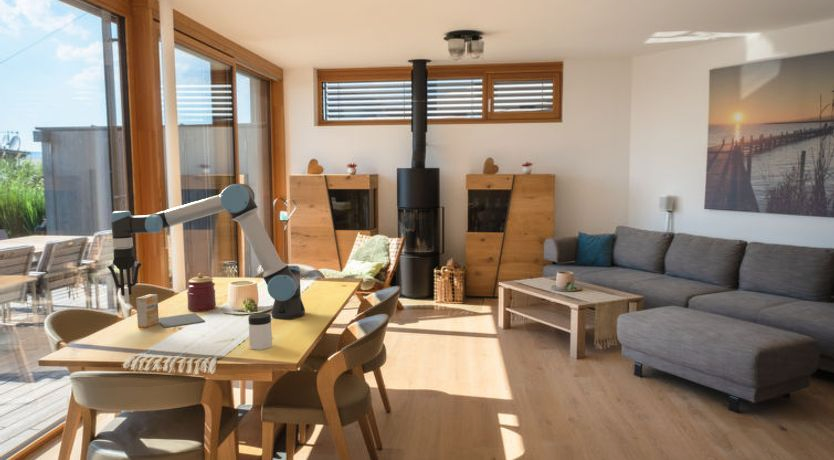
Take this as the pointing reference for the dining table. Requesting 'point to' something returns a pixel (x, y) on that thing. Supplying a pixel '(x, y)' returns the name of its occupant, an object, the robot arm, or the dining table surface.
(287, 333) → the dining table surface
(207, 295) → the canister
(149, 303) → the supplement box
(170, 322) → the mat
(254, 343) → the jar
